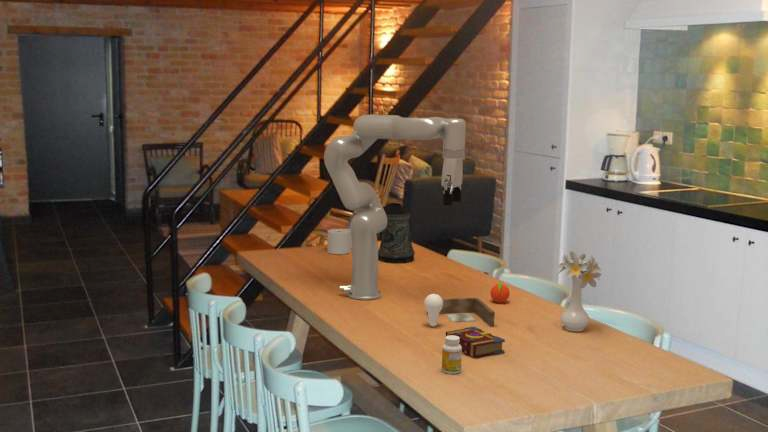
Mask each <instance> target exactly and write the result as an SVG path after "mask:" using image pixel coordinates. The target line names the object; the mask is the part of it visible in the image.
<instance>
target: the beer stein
mask: <svg viewBox="0 0 768 432" xmlns="http://www.w3.org/2000/svg"><path fill="white" fill-rule="evenodd" d="M382 207H383V209H384V211H385V213H386V216H387V226H386V228H385V229H384V230H383V231H382V232H380V233H378V234H376V237H377V239H379V240H380V244H379V246H378V261H379V260H380V261H379V262H382V263H386V264H395V265H396V264H397V265H399V264H400V265H402V264H408V263H412V262H414V261H415V250H414V248H413V247H414V246H413V244H412V237H411V231H410V229H411V228H410V222H409V221H410V218H411V214H410V212H409V211H408V210H406V209H405V207H403V206H402V203H397V202H393V203H392V202H391V203H389V204H388V205H385V206H383V205H382Z"/></svg>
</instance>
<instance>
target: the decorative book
mask: <svg viewBox="0 0 768 432" xmlns="http://www.w3.org/2000/svg"><path fill="white" fill-rule="evenodd" d="M449 335H454V336H458V337H460V342H459V344H460V345H461V347H462V353H463V354H462V355H464V356H467V357H468V356H469V357H472V358H474V359H476V358H480V357H481V358H482V357H487V356H492V355H494V356H496V355H501V354H505V350H504V349H503V343H505V342H506V339H505V338H501V337H499V336H497V335H496V336H495V335H493V334H492V332H489V331H484V330H482V329H480V327H476V326H469V327H465V328H462V329H461V328H460V329H456V330H449V331H445V337H446V336H449ZM444 342H445V341H444ZM445 343H446V342H445ZM445 343H444V344H445Z"/></svg>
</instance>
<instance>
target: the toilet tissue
mask: <svg viewBox="0 0 768 432" xmlns="http://www.w3.org/2000/svg"><path fill="white" fill-rule="evenodd" d="M326 232H327V234H326V235H327V239H326V241H327V245H326V246H327V247H326V248H327V250H326V251H327V253H328V254H333V255H346V254H347V253H348V254H351V250H352V236H351V228H332V229H327V231H326Z"/></svg>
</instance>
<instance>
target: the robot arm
mask: <svg viewBox="0 0 768 432" xmlns="http://www.w3.org/2000/svg"><path fill="white" fill-rule="evenodd" d="M466 126H467V124H466V120H465V119H463V118H455V117H454V118H453V117H452V118H446V117H441V116H440V117H439V116H432V117H429V116H428V117H402V116H401V115H397V114H396V115H394V114H391V115H390V114H375V113H374V114H362V115H360V116H358V117H357V118H356V119H355V120H354V122H353V132H351V134H350V135H343V136H338V137H335V138H334V139H332V140H330V142H329V143H328V144H327V145H326V147H325V149H324V154H323V161H324V166H325V167H326V169H327V172H328V174H329V176H330V178H331V179H332V182H333V185H334V187H335V189H336V191H337V194H338V196H339V198H340V200H341V203H342V204H343V206H344V208H346V209H347V210H349V211H357V210H358V213H357V214H355V216H353V218H352V219H351V222H350V229H351V236H352V249H351V250H352V251H351V255H352V256H351V261H352V262H351V282H349V284H347V285H339V286H338V291H339V292H342V291H343V292H344V293H345V292H347V297H349V298H350V299H353V300H354V299H356V300H364V301H367V300H368V301H371V300H377V299H379V298H381V297H382V295H383V294H382V292H381V290H378V280H379V279H378V278H379V277H378V276H379V274H378V273H379V258H378V250H379V244H378V243H379V242H378V236H377V235H376V234H378V233H380V232H383V230H384V229H385V228H386V226H387V216H386V213H385V211H384V209H383V205H382V203H381V201H380V199H379V197H378V194H377V192H376V190H375V189H374V188H373V186H372V185H371V184H369V183H367V182H365V181H363V182H362V181H361V182H359V180H358V178H357V176H356V173H355V171H354V169H353V168H352V167H351V165H350V164H349V163H348V162H349V161H348V160H350V159H351V160H352V159H356V158H358V157H360V156H361V155H363V154H364V153H365V152H366V151H367V150H368V149H369V148H370V147H371V146H372V145H373V144H374V143H375V142H376V141H377V140H378V139H379V140H406V141H407V140H409V141H410V140H411V141H413V140H415V141H431V140H435V139H442V141H443V142H442V159H443V164H442V171H441V173H442V174H441V187H442V188H443V191H442V192H443V196H442V197H443V198H442V199H443V203H442V204H443V206H450V207H451V206H453V204H454V203H453V202H455V203H456V202H457V203H460V202H461V201H462V185H463V178H464V177H463V175H464V174H463V172H464V170H463V169H464V168H463V167H464V165H463V160H465V158H466V156H465V152H466V151H465V148H466V128H467V127H466Z"/></svg>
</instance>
